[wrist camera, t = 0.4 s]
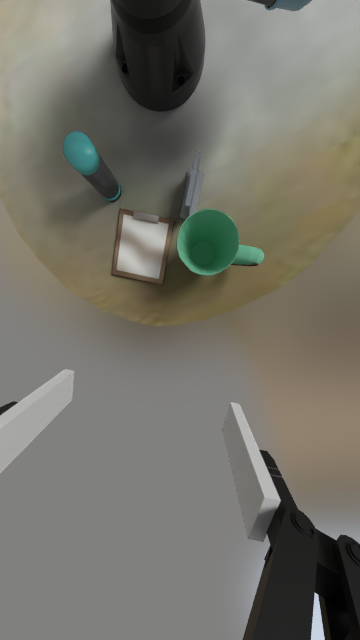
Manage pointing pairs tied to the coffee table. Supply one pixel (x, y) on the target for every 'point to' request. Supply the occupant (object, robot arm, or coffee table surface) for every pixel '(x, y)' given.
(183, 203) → the gray bookend
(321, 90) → the coffee table surface
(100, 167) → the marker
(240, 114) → the coffee table surface
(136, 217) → the clipboard
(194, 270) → the mug
